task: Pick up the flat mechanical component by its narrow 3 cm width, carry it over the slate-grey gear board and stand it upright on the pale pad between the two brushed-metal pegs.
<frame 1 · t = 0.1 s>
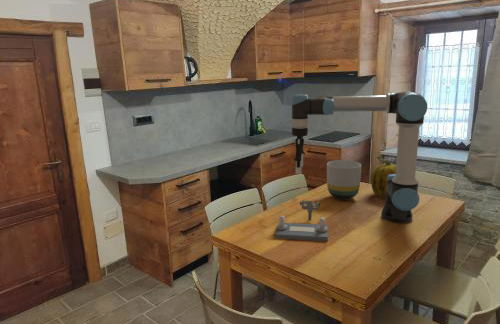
hand: (299, 170, 187), 28 cm above the table, fingers open, 13 cm apart
planter: (342, 198, 228), on the table
gear board: (301, 233, 181), on the table
mechanical component: (309, 220, 197), on the table
pumpkin: (386, 196, 230), on the table
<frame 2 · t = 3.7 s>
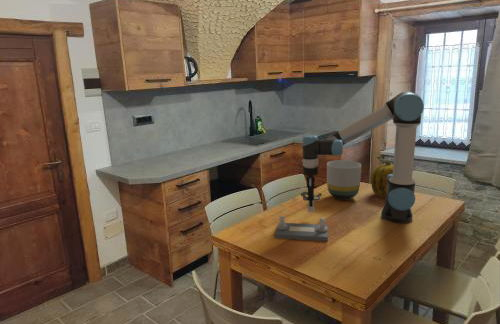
hand: (311, 210, 196), 5 cm above the table, fingers closed on mechanical component, 3 cm apart
mechanical component: (311, 211, 196), point 5 cm above the table, touching gripper
everything else where it was.
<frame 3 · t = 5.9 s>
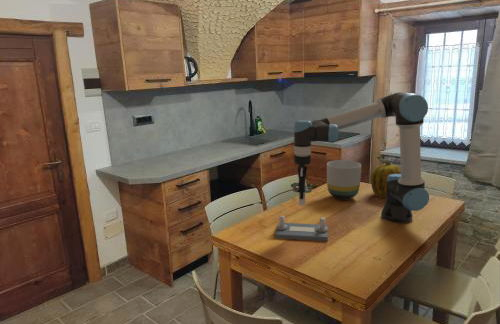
hand: (302, 203, 178), 15 cm above the table, fingers closed on mechanical component, 3 cm apart
mechanical component: (302, 204, 178), point 14 cm above the table, touching gripper
everything else where it was.
when the fingers open (3 cm above the table, at t = 8.1 s): mechanical component stays where it is, resting on gear board.
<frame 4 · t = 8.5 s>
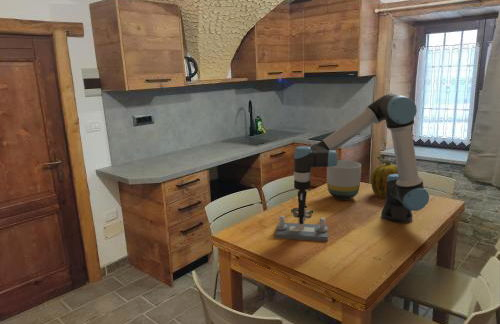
hand: (301, 225, 180), 4 cm above the table, fingers open, 9 cm apart
mechanical component: (302, 229, 181), point 2 cm above the table, touching gear board
everything else where it was.
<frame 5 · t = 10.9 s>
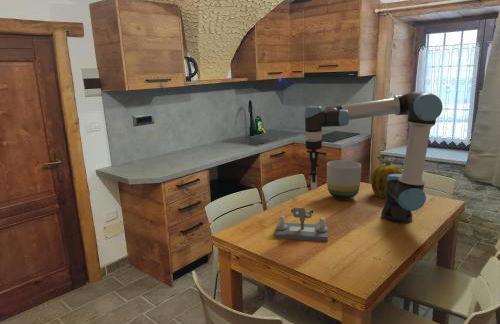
hand: (314, 184, 181), 23 cm above the table, fingers open, 13 cm apart
nothing on the table moved.
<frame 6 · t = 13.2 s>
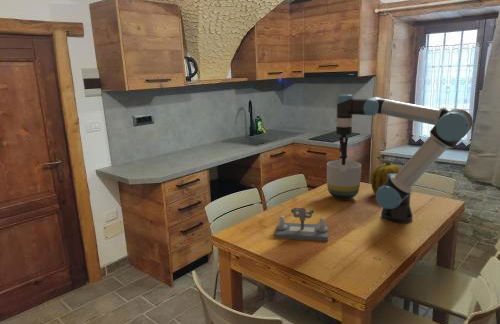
hand: (342, 167, 194), 27 cm above the table, fingers open, 13 cm apart
nothing on the table moved.
at the end: mechanical component inside the target area on the gear board (0.1 cm from its centre), point 2.0 cm above the gear board's base; mechanical component tilted 0°; the gripper is holding nothing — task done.
